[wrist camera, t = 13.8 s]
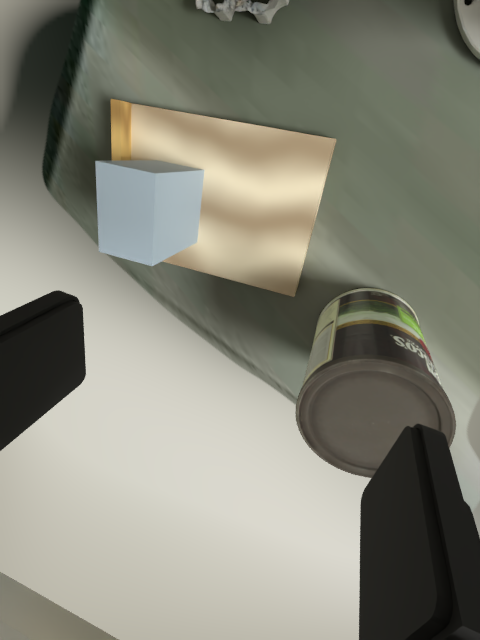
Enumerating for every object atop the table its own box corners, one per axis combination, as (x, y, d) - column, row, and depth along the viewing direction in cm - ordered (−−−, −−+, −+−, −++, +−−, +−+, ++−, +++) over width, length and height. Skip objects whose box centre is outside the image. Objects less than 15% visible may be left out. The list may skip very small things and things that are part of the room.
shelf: (129, 103, 33) (108, 98, 30) (336, 140, 29) (334, 137, 26) (128, 247, 39) (111, 253, 37) (296, 292, 36) (291, 303, 33)
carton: (204, 169, 32) (155, 173, 24) (197, 242, 35) (152, 266, 27) (154, 159, 33) (91, 159, 25) (151, 230, 36) (95, 250, 28)
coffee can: (387, 267, 32) (407, 333, 20) (438, 351, 34) (486, 459, 22) (296, 316, 37) (267, 394, 25) (346, 387, 39) (341, 492, 27)
